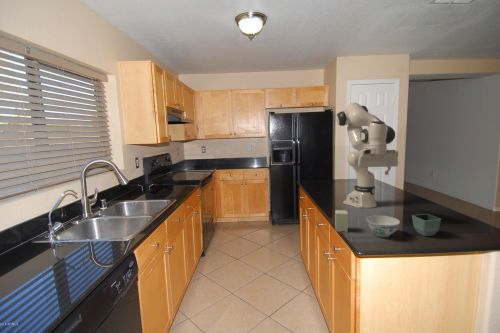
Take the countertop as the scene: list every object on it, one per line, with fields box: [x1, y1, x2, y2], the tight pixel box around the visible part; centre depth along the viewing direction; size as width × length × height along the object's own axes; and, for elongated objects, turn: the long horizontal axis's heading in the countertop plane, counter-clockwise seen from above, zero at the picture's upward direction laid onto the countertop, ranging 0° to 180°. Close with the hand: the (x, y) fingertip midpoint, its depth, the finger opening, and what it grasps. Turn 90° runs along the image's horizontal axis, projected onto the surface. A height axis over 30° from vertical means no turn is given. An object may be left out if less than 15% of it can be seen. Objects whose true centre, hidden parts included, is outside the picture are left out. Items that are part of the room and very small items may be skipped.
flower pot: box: [411, 213, 442, 237], centre depth 127 cm, size 9×9×9 cm
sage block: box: [334, 209, 349, 233], centre depth 138 cm, size 6×6×10 cm
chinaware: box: [365, 214, 401, 238], centre depth 129 cm, size 15×15×8 cm
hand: (377, 174), depth 144 cm, fingers open, 8 cm apart
